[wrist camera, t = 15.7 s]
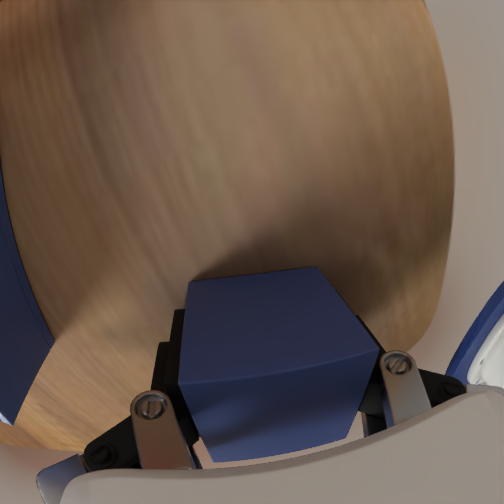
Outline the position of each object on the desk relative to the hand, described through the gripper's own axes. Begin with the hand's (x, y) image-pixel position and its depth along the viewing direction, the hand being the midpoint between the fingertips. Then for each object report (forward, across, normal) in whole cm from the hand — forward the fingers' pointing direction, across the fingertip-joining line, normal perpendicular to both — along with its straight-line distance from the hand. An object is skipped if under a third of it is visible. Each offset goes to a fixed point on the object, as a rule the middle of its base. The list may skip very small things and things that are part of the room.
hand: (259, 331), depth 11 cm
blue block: (0, 0, 0) cm, 0 cm away
